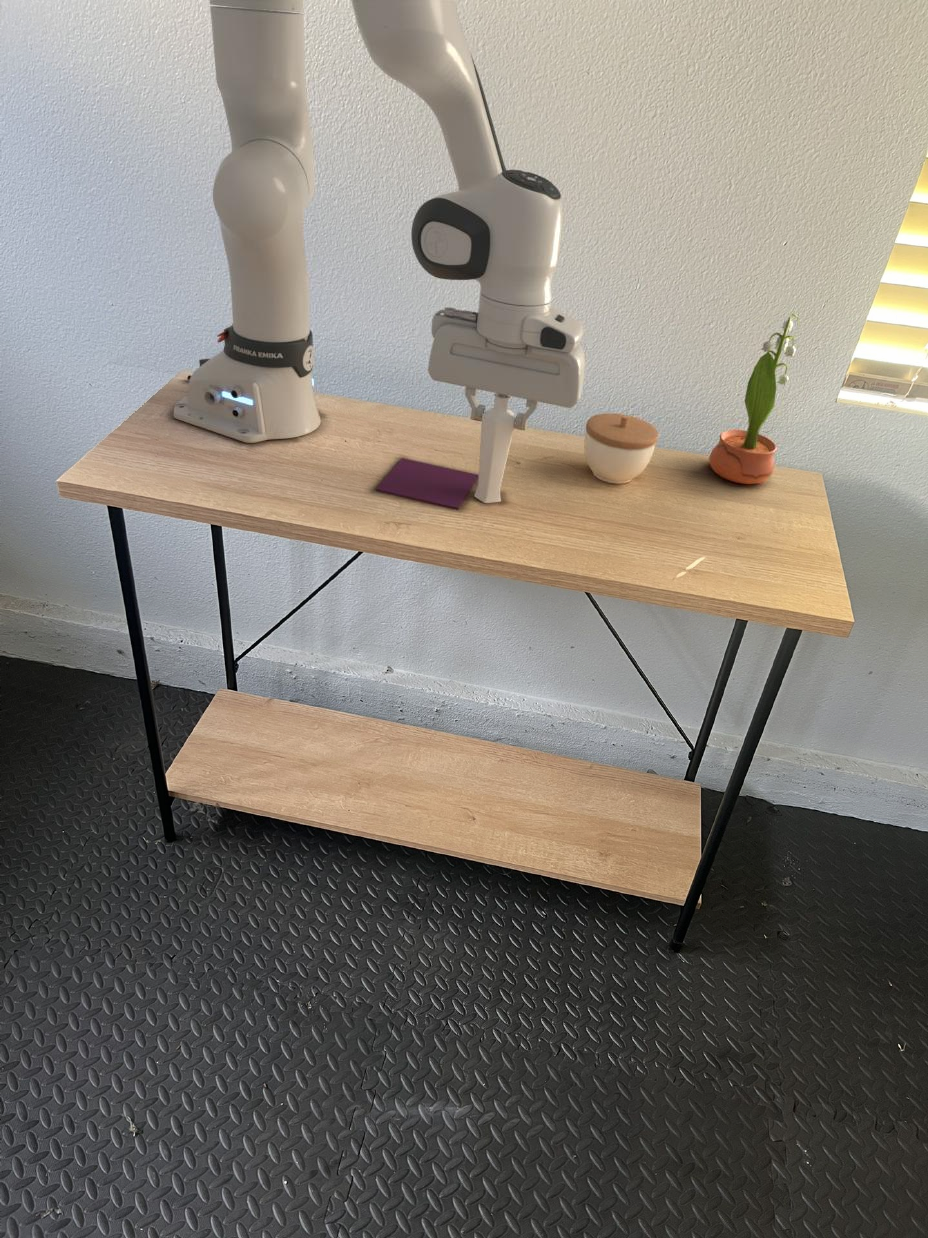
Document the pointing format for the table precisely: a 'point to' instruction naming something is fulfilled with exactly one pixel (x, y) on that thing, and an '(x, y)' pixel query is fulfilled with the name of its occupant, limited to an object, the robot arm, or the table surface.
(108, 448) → the table surface
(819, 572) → the table surface
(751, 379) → the potted flower
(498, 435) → the white faceted vase
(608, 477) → the trinket box
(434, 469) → the cloth
